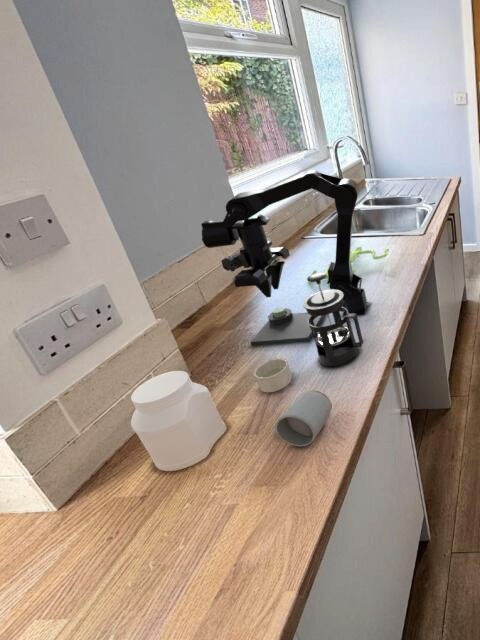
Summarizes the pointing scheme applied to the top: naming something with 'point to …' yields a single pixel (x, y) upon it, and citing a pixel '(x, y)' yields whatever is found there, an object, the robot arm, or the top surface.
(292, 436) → the ceramic mug
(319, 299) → the french press
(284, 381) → the cup
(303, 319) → the scale
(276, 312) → the button
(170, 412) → the jar
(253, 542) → the top surface
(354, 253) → the figurine
